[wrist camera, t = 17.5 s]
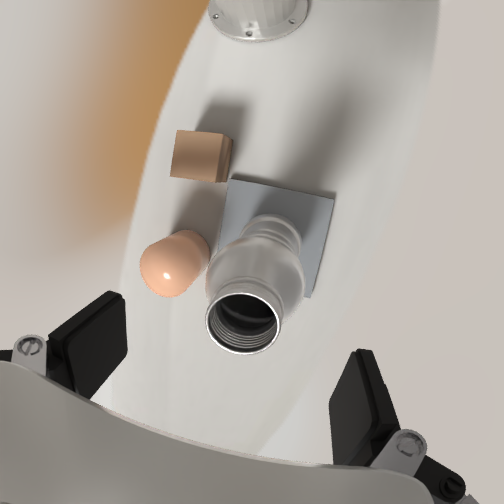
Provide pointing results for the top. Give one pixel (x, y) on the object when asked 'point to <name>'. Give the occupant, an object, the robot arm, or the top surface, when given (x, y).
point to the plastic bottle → (255, 285)
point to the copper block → (201, 156)
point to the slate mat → (288, 205)
